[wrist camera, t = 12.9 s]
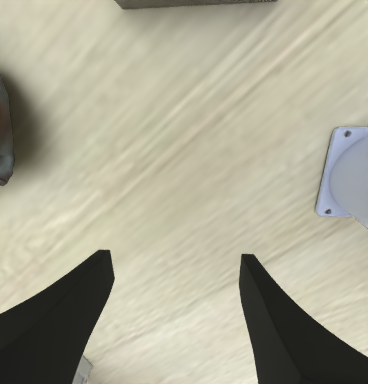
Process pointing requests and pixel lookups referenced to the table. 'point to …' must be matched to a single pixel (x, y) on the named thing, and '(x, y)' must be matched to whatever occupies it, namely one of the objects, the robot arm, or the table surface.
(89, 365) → the stool
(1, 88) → the lucky cat figurine
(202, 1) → the desk shelf
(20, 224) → the table surface
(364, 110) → the table surface
